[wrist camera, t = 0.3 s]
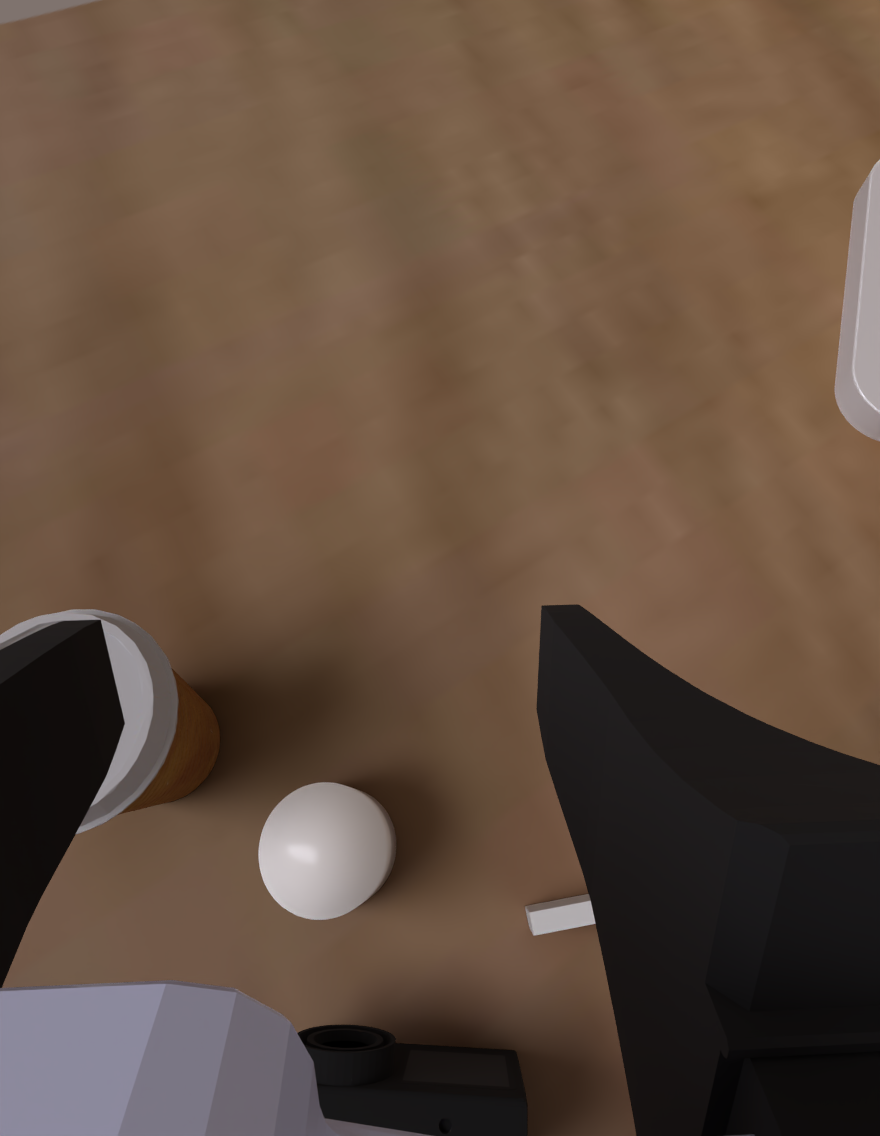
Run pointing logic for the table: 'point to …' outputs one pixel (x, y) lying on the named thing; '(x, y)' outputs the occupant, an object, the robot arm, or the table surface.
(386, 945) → the table surface
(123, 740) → the disposable coffee cup
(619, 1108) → the table surface
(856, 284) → the computer
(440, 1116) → the digital camera
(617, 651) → the robot arm
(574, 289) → the table surface
